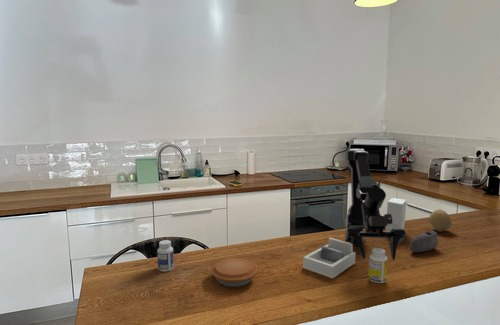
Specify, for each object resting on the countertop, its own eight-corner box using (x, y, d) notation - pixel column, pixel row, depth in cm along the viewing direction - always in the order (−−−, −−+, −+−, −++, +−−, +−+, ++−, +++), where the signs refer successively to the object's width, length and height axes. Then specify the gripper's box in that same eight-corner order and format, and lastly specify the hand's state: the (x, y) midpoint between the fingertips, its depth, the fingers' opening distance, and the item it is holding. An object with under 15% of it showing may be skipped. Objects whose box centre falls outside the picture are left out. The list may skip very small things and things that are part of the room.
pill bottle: (168, 263, 127) (167, 238, 126) (176, 268, 123) (175, 242, 122) (155, 268, 123) (154, 242, 122) (163, 273, 120) (162, 246, 118)
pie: (202, 276, 118) (201, 262, 117) (240, 264, 126) (240, 251, 126) (226, 296, 105) (226, 280, 104) (267, 281, 114) (267, 266, 113)
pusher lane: (327, 254, 135) (327, 236, 134) (355, 263, 127) (355, 244, 126) (303, 267, 123) (303, 248, 122) (332, 278, 116) (333, 258, 115)
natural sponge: (425, 227, 166) (426, 206, 164) (445, 228, 165) (446, 207, 163) (432, 233, 157) (433, 212, 156) (453, 234, 156) (455, 212, 154)
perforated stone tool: (415, 256, 133) (416, 239, 132) (403, 251, 138) (404, 234, 137) (441, 249, 140) (442, 232, 138) (429, 245, 144) (430, 228, 143)
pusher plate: (322, 256, 130) (323, 245, 129) (343, 263, 124) (344, 251, 123) (321, 257, 129) (321, 246, 128) (342, 264, 123) (342, 252, 123)
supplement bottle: (381, 275, 118) (382, 246, 116) (389, 283, 112) (391, 253, 111) (365, 276, 117) (366, 247, 116) (372, 284, 112) (374, 253, 110)
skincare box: (389, 230, 162) (391, 197, 160) (405, 233, 158) (407, 199, 156) (384, 235, 155) (386, 201, 153) (400, 238, 151) (402, 203, 149)
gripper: (348, 204, 116) (353, 248, 107) (406, 205, 115) (416, 250, 106) (343, 219, 125) (347, 262, 116) (396, 221, 124) (406, 264, 114)
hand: (378, 259), depth 113 cm, fingers open, 9 cm apart
